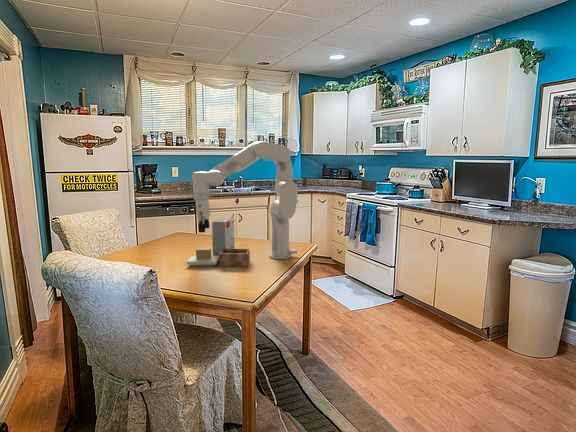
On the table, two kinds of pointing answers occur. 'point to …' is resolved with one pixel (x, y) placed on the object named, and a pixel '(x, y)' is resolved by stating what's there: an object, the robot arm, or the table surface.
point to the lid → (203, 257)
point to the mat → (202, 265)
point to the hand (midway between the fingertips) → (204, 230)
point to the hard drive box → (222, 235)
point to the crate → (234, 257)
